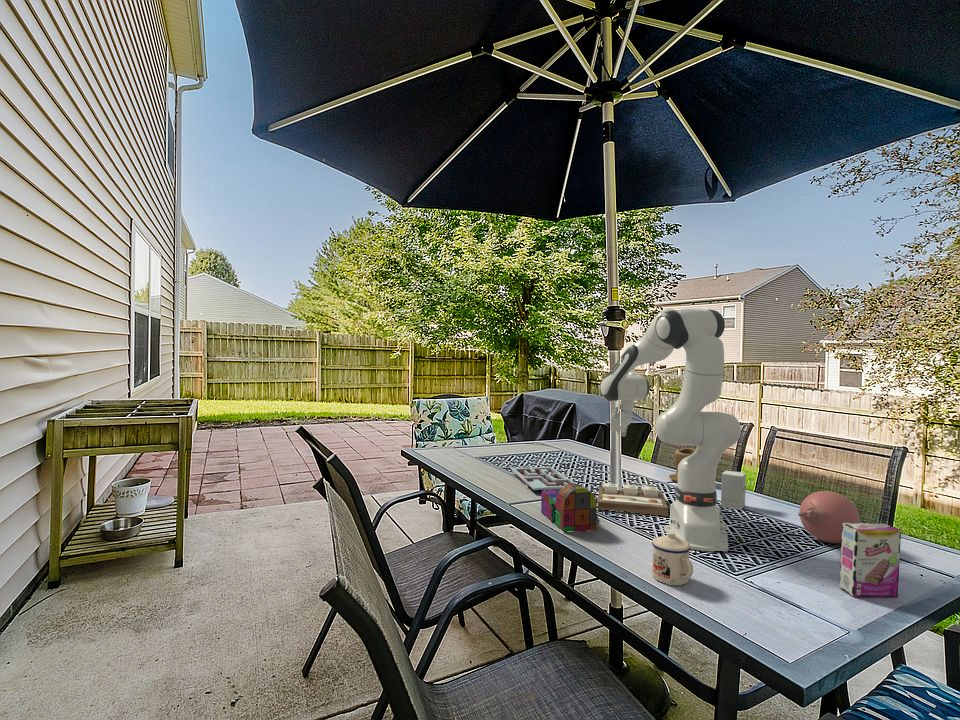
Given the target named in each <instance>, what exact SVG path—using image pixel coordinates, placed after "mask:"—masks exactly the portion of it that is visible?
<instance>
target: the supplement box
mask: <svg viewBox="0 0 960 720" xmlns="http://www.w3.org/2000/svg"><path fill="white" fill-rule="evenodd" d="M746 479H747V474H746V472H741V471H734V470H733V471H732V470H725V471H723V472H722V473H721V487H720V489H721V490H720V492H721V493H720V507H723V508H726V509H727V508H728V509H731V510H732V509H733V510H738V511H742V510H743V508H745V506H746V489H747V486H746V485H747V483H746V482H747V481H746Z"/></svg>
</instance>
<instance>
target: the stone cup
mask: <svg viewBox="0 0 960 720" xmlns="http://www.w3.org/2000/svg"><path fill="white" fill-rule="evenodd" d="M695 450H696V448H691V447H682V448H678V449H676V450H675V452H674V455H673V456H674V457H673V458H674V459H673V461H674V465H675V469H676V472H675V473H672V474H669V475H668V478H669V479H671V480H672V481H674V482H677V483H678V465H679V463H680V462H681V460H682V459H684V458H686V457H688V456H690V455H692V454H693V453H694V451H695Z"/></svg>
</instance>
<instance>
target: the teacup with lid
mask: <svg viewBox="0 0 960 720" xmlns="http://www.w3.org/2000/svg"><path fill="white" fill-rule="evenodd" d="M651 545H652V575H651V576H652V578H653V579H655V580H656V581H657V580H658V581H657V582H659V581H660V583H661V582H663V583H662V584H664V583H666V584H665V585H668V584H671V585H670V586H675V585H679V586H684V585H686V584H687V583H688V582H689V579H690V578H691V577H692V576H693V573H694V566H693V563H692V561H691V560H690V551H691V549H690V546H689V544H688V543H687V542H686V541H684V540H682V539H679V538H678V537H676V536H675V533H673V532H668V533H666V535H662V536H657V537H656V536H655V538H653V540H652V542H651ZM683 584H684V585H683Z"/></svg>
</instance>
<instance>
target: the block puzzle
mask: <svg viewBox="0 0 960 720" xmlns="http://www.w3.org/2000/svg"><path fill="white" fill-rule="evenodd" d="M575 483H576V482H575ZM575 483H571V484H567V485H565V486H563V487H562V488H561V489H560V490H547V491H544V490H541V497H540V498H541V504H540V506H541V507H540V509H541V510H540V512H541V513H542V514H543V515H544V516H546V517H547V518H548V519H549V520H550V521H551V522H554V526H555V525H556V526H557V527H558V528H559V529H561V530H562V531H563V532H567V531H582V532H588V531H587V530H595V529H596V530H597V519H598V520H599V516H598V515H597V514H598V512H597V511H598V502H597V498H596V496H595V494H594V493H592V491H591V490H589V489H588V488H587V487H586V488H585V487H584V486H582V485H580V484H578V483H576V484H575ZM555 511H556V513H555ZM541 513H540V514H541ZM542 514H541V515H542ZM543 515H542V516H543ZM544 516H543V517H544ZM546 517H545V518H546ZM547 518H546V519H547ZM548 519H547V520H548ZM549 520H548V521H549ZM550 521H549V522H550ZM551 522H550V523H551ZM556 526H555V527H556ZM557 527H556V528H557ZM558 528H557V529H558ZM559 529H558V530H559ZM596 530H595V531H596ZM563 532H562V533H563Z"/></svg>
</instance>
